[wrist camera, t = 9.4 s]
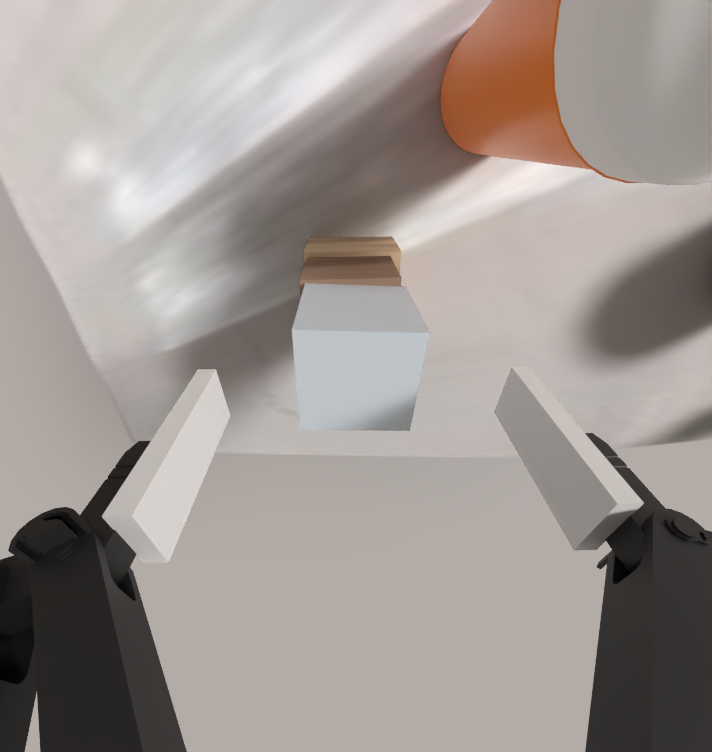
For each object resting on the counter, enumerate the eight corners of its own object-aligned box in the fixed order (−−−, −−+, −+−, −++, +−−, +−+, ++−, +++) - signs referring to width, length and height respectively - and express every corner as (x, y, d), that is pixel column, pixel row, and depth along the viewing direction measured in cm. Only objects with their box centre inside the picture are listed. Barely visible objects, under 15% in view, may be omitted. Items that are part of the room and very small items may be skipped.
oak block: (308, 237, 26) (303, 252, 22) (391, 236, 26) (401, 251, 22) (315, 314, 30) (311, 339, 26) (387, 313, 30) (394, 337, 26)
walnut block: (306, 257, 22) (299, 280, 18) (390, 255, 22) (401, 277, 18) (314, 332, 25) (309, 366, 21) (386, 330, 26) (395, 363, 22)
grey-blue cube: (305, 283, 18) (291, 329, 13) (406, 286, 18) (429, 333, 13) (309, 368, 21) (299, 430, 17) (394, 369, 22) (409, 430, 17)
